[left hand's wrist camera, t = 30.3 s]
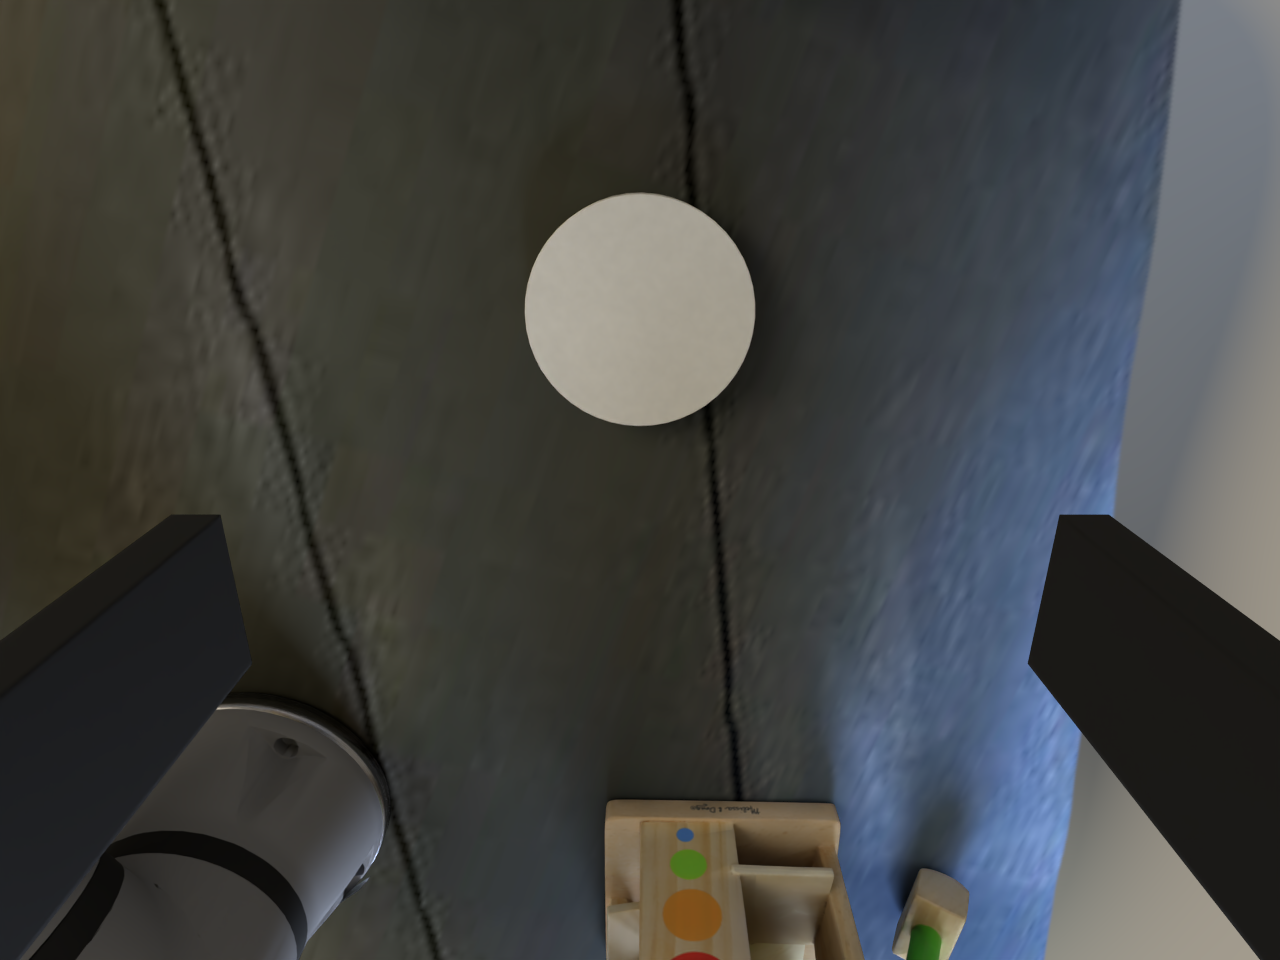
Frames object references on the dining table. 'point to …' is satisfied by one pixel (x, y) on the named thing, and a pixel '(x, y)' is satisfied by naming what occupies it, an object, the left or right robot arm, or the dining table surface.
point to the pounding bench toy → (750, 886)
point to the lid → (640, 309)
